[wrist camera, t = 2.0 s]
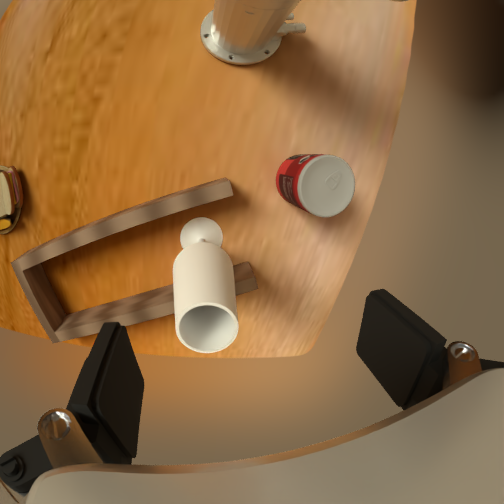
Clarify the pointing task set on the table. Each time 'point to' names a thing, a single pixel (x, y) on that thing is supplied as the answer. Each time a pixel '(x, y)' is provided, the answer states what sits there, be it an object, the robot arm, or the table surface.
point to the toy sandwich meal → (9, 198)
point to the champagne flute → (204, 289)
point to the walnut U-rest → (123, 309)
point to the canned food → (316, 183)
